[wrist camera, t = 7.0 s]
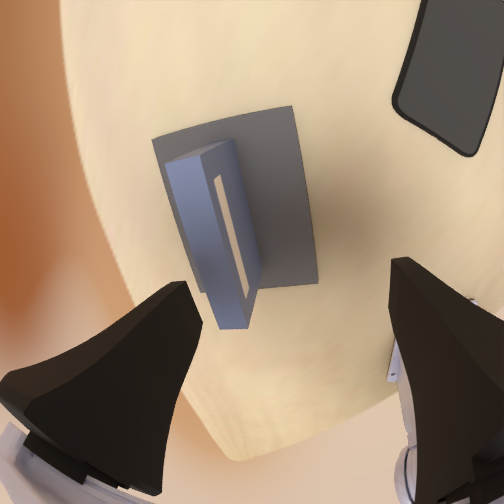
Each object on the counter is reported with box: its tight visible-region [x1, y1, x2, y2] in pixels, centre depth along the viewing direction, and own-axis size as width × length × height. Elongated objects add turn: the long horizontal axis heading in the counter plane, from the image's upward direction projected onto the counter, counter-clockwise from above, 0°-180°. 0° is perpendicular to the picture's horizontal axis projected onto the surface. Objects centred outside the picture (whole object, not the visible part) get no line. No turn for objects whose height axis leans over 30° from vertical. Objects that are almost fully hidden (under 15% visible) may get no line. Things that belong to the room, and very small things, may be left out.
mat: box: [152, 106, 318, 293], centre depth 18 cm, size 12×9×1 cm
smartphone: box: [392, 0, 504, 157], centre depth 10 cm, size 7×1×15 cm
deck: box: [165, 138, 263, 329], centre depth 15 cm, size 9×2×6 cm, turn 12°
